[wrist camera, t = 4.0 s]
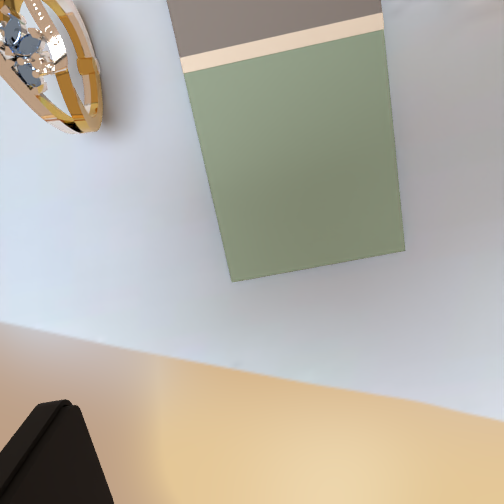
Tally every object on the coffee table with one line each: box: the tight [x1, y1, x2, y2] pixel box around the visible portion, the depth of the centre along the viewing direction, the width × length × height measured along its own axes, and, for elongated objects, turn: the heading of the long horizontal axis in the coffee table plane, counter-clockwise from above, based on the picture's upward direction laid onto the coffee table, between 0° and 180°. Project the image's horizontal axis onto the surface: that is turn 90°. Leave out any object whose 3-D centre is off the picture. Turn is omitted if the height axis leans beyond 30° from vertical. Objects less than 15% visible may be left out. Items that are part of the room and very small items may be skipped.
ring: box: [0, 0, 103, 134], centre depth 20 cm, size 7×3×8 cm, turn 6°
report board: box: [167, 0, 405, 282], centre depth 23 cm, size 11×26×1 cm, turn 11°
